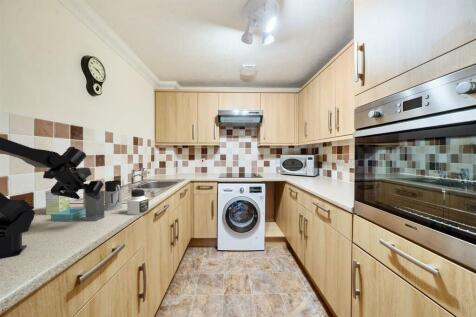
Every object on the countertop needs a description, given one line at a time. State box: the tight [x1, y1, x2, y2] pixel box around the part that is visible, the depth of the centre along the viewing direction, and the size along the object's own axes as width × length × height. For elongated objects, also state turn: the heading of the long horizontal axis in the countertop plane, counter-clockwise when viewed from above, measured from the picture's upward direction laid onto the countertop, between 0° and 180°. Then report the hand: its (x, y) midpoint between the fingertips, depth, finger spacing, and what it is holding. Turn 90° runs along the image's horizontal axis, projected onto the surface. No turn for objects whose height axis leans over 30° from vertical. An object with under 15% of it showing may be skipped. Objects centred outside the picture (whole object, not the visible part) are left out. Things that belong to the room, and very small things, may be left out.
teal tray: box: [50, 207, 86, 222], centre depth 94 cm, size 10×10×3 cm
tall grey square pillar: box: [85, 189, 105, 222], centre depth 92 cm, size 5×5×13 cm
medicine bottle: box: [126, 188, 150, 216], centre depth 102 cm, size 7×7×12 cm
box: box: [45, 189, 71, 216], centre depth 104 cm, size 10×6×12 cm, turn 17°
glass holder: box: [104, 179, 123, 211], centre depth 109 cm, size 9×14×15 cm, turn 49°
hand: (89, 198), depth 88 cm, fingers open, 9 cm apart
